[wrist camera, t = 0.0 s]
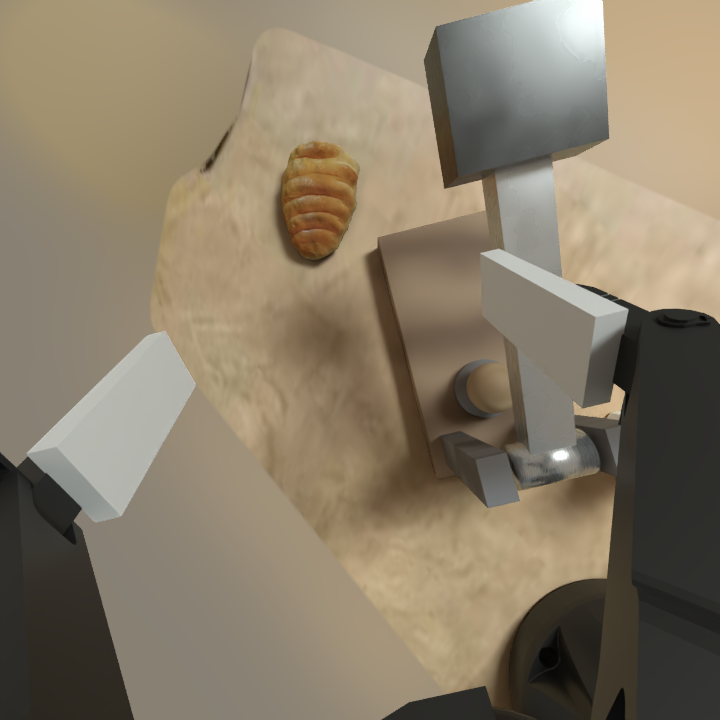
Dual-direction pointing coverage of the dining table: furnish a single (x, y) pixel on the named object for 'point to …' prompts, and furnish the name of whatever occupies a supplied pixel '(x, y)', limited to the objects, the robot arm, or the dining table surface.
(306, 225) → the pastry
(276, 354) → the dining table surface
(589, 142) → the lever
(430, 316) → the nutcracker base
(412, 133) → the dining table surface
